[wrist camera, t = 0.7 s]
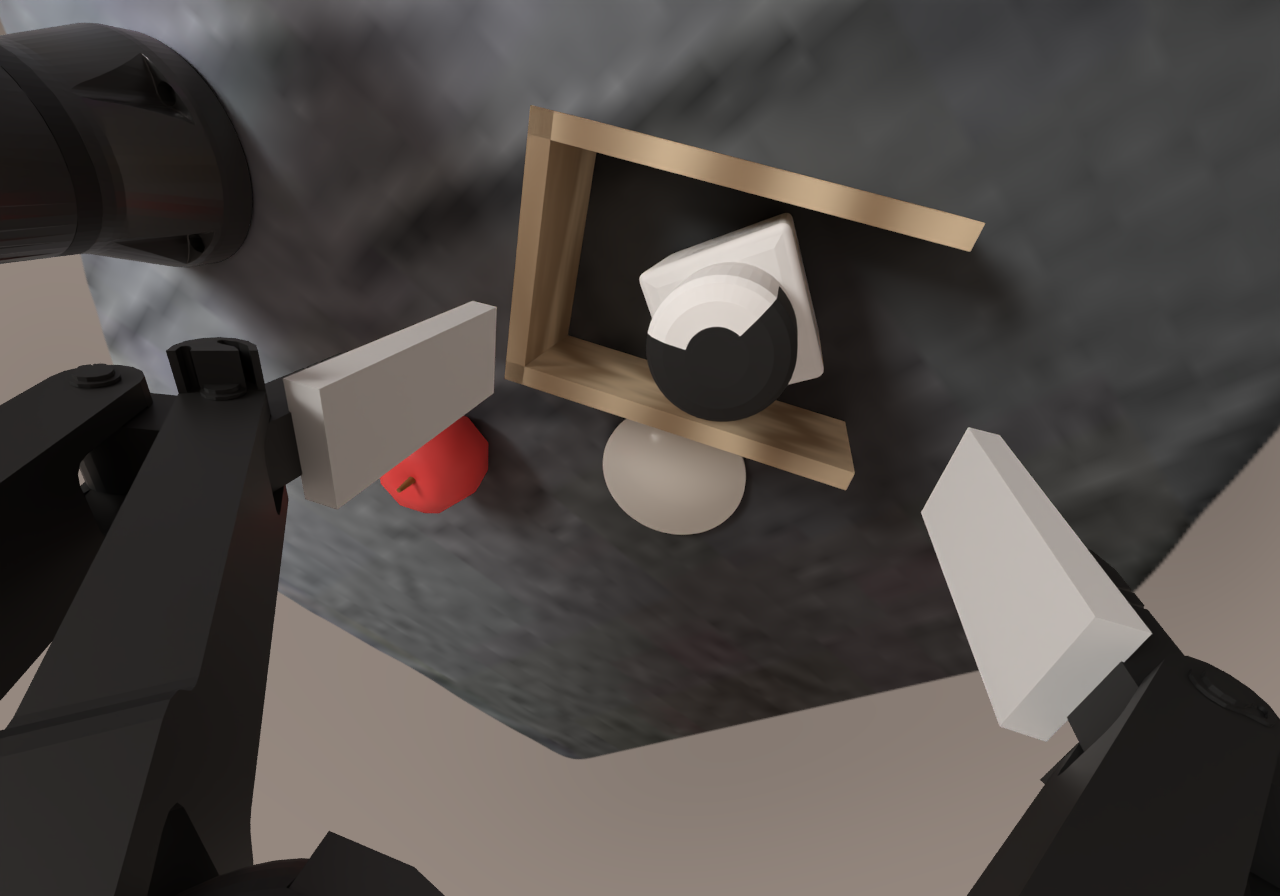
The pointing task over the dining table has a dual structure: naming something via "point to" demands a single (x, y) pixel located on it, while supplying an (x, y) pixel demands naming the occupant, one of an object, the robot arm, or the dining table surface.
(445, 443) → the apple
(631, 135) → the tan open-ended frame
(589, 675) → the dining table surface
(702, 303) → the container
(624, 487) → the trivet
